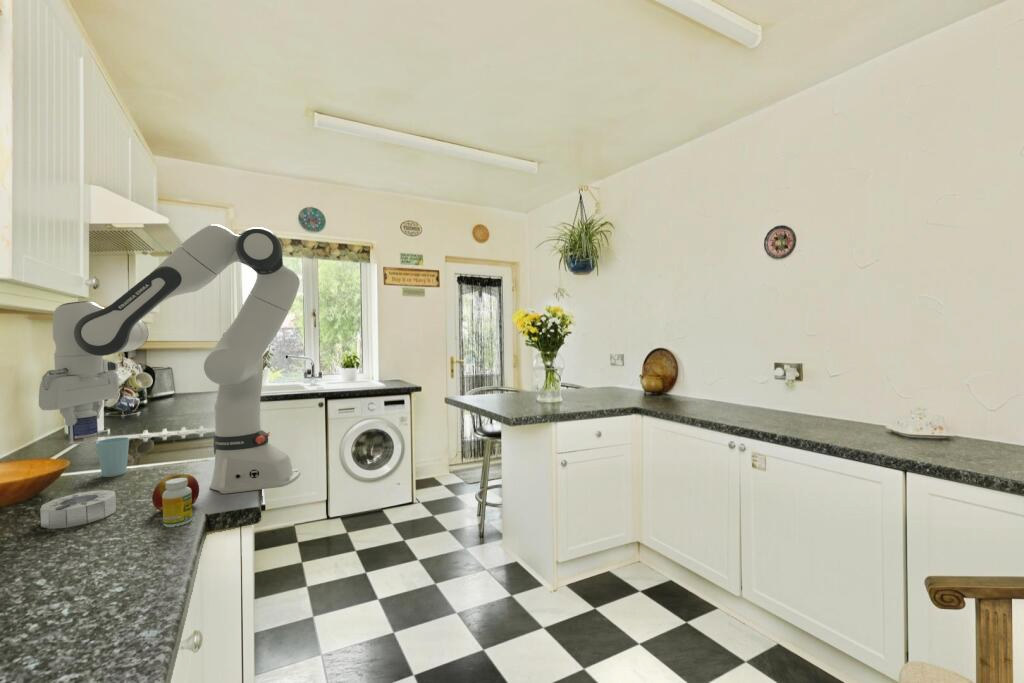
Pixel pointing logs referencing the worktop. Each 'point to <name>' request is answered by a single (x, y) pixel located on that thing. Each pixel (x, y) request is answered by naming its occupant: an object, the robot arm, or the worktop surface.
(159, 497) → the fruit
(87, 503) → the disc
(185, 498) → the supplement bottle
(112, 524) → the worktop surface
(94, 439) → the pill bottle
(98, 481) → the worktop surface
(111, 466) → the cup
